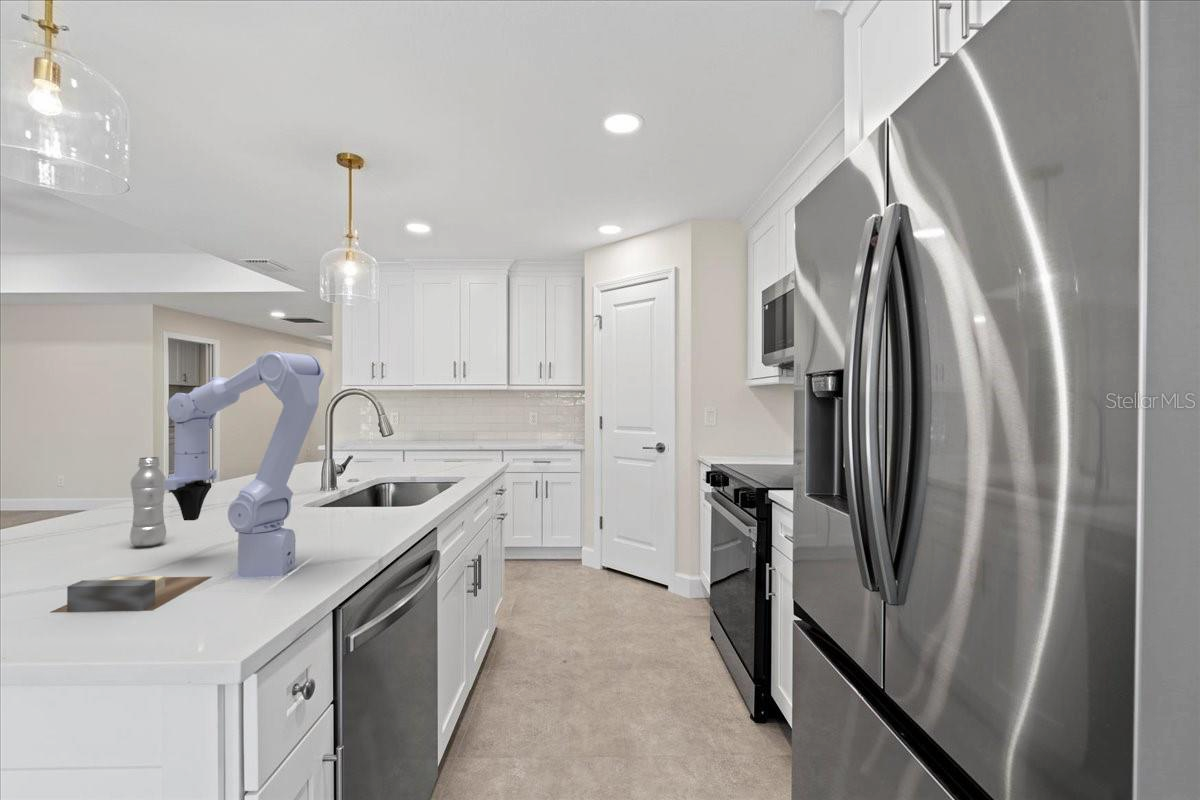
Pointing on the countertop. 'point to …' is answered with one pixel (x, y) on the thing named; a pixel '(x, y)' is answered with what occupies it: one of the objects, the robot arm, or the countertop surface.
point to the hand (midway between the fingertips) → (191, 519)
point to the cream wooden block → (158, 579)
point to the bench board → (124, 594)
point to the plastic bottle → (148, 504)
